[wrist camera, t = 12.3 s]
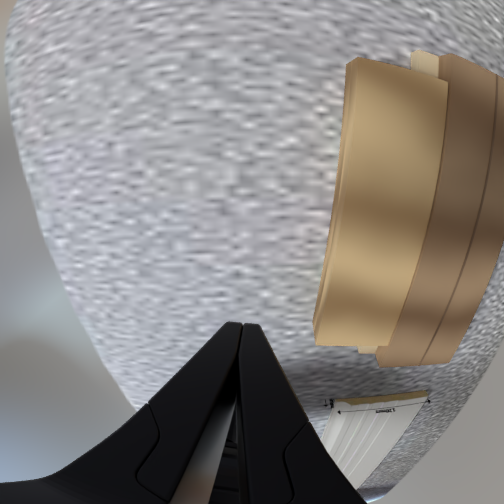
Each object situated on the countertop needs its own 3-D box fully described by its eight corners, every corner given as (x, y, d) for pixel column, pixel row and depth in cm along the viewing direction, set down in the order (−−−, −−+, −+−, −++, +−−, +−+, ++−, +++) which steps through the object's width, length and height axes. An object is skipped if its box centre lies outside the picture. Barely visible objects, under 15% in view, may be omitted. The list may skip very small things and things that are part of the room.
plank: (378, 322, 22) (387, 345, 20) (312, 320, 22) (315, 345, 20) (426, 84, 14) (448, 82, 12) (345, 64, 14) (357, 56, 12)
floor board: (437, 341, 23) (449, 363, 20) (356, 343, 23) (363, 368, 20) (503, 91, 13) (528, 93, 10) (411, 52, 13) (431, 45, 11)
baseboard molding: (290, 488, 41) (354, 483, 40) (290, 501, 38) (356, 496, 37) (320, 394, 27) (424, 385, 26) (323, 417, 24) (432, 405, 24)
